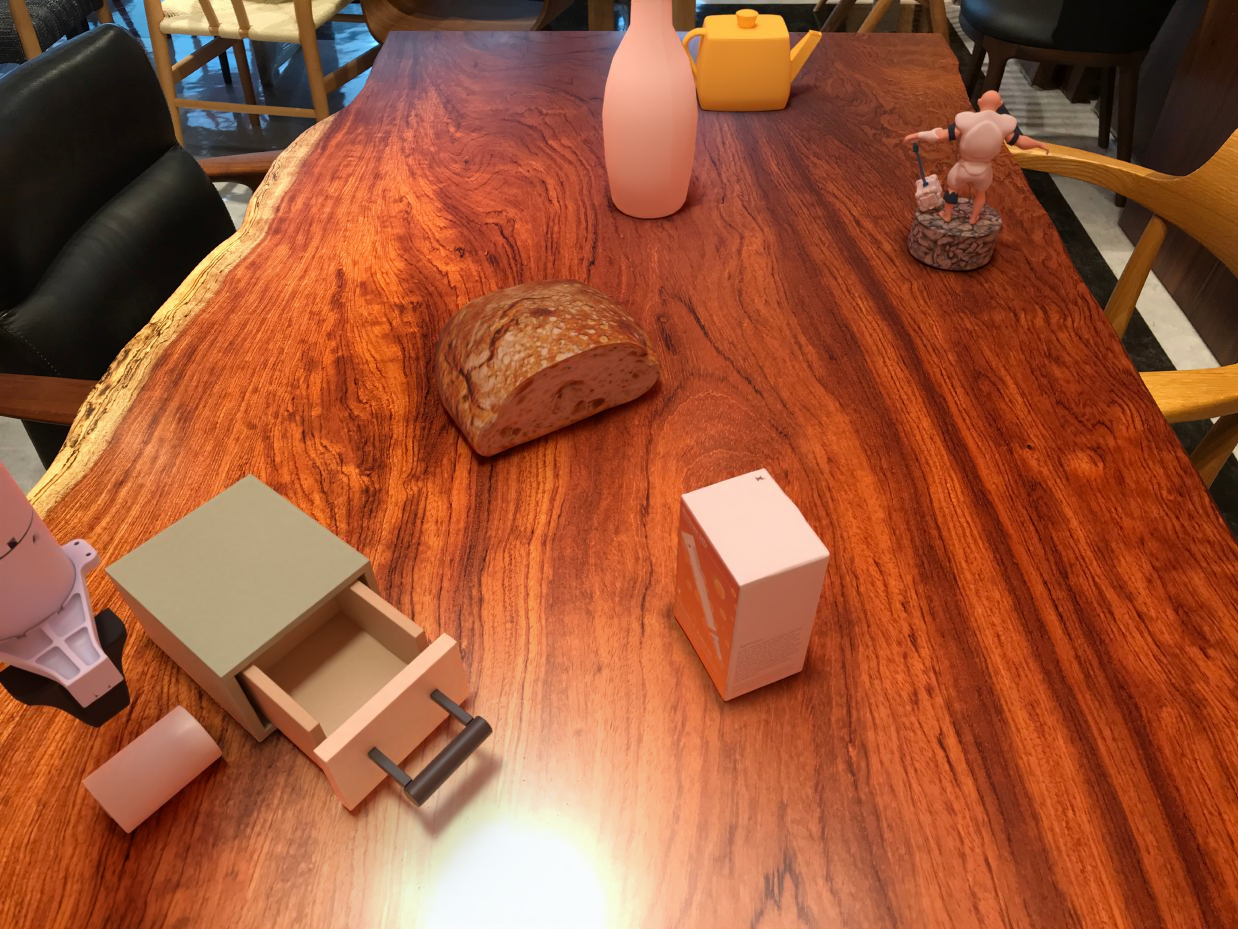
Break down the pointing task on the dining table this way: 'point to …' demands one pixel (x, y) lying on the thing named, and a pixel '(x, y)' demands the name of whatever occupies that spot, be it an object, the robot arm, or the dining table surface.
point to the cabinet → (235, 586)
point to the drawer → (365, 695)
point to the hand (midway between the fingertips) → (92, 692)
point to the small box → (747, 581)
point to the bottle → (650, 115)
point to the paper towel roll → (152, 768)
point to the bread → (539, 361)
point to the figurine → (950, 223)
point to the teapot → (746, 61)
